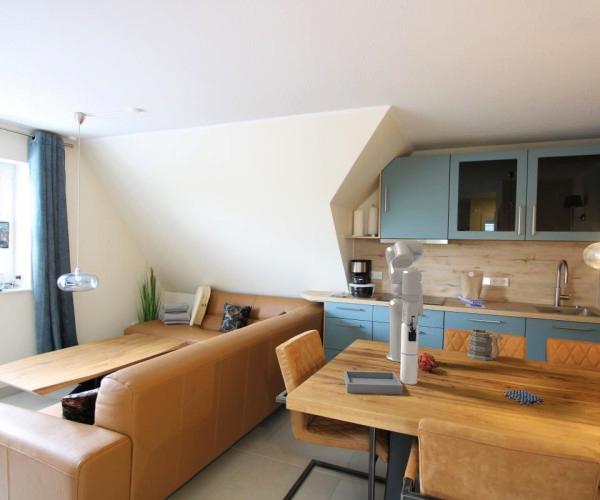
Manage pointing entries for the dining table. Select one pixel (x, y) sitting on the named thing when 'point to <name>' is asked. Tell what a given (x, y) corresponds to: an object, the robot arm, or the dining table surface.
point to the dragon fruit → (427, 362)
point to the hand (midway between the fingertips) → (409, 338)
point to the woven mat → (523, 397)
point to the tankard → (483, 344)
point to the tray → (372, 382)
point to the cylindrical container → (409, 356)
